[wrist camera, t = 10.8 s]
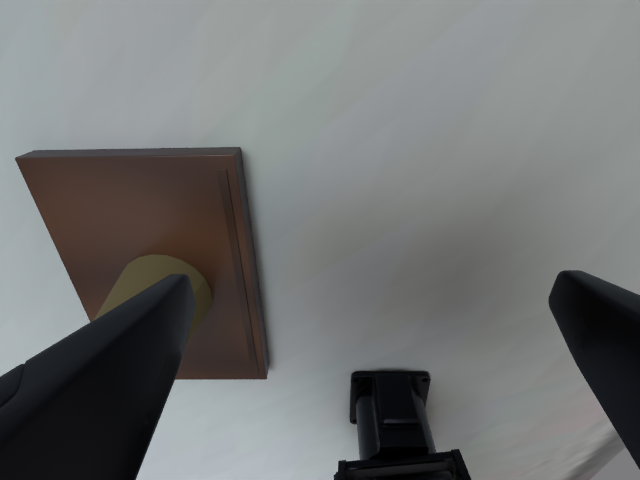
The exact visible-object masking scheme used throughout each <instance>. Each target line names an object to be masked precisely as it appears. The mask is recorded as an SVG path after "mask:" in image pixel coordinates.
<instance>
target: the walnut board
mask: <svg viewBox="0 0 640 480" xmlns="http://www.w3.org/2000/svg"><path fill="white" fill-rule="evenodd" d="M15 160H16V162H17V164H18V166H19V169H20V171H21V173H22V175H23V177H24V179H25V182H26V184H27V186H28V188H29V190H30V192H31V195H32V197H33V199H34V201H35V203H36V205H37V207H38V210H39V212H40V214H41V216H42V218H43V220H44V223H45V225H46V227H47V229H48V231H49V233H50V236H51V238H52V240H53V242H54V244H55V246H56V249H57V251H58V253H59V255H60V257H61V259H62V262H63V264H64V266H65V268H66V270H67V272H68V275H69V277H70V279H71V281H72V283H73V285H74V288H75V290H76V292H77V294H78V296H79V298H80V300H81V303H82V305H83V307H84V309H85V311H86V313H87V316H88V318H89V320H90V322H92V321H94V319H95V317H96V316H97V314H98V312H99V310H100V309H101V307H102V305H103V304H104V302H105V300H106V299H107V297H108V295H109V294H110V292H111V290H112V288H113V287H114V285H115V283H116V282H117V280H118V278H119V277H120V275H121V273H122V272H123V270H124V269H125V267H126V266H127V264H128V263H130V262H132V261H133V260H135V259H136V258H138V257H142V256H147V255H151V254H154V255H168V256H171V257H174V258H177V259H180V260H183V261H184V262H186V263H188V264H189V265H191V266H193V267H194V268H196V269H197V270H198V272H199V273H200V274H201V275H202V276H203V277H204V278H205V279H206V281H207V283H208V285H209V287H210V289H211V295H212V303H211V306H210V309H209V311H208V313H207V314H206V316H205V317H204V319H203V320H202V322H201V324H200V325H199V327H198V328H197V330H196V331H195V333H194V334H193V336H192V337H191V339H190V340H189V342H188V343H187V345H186V346H185V350H184V354H183V357H182V361H181V364H180V367H179V370H178V372H177V375H176V378H175V379H267V374H268V369H269V359H268V351H267V344H266V337H265V329H264V322H263V314H262V307H261V299H260V292H259V284H258V277H257V269H256V262H255V254H254V247H253V239H252V232H251V224H250V217H249V209H248V202H247V194H246V187H245V179H244V172H243V165H242V157H241V150H240V147H220V148H159V149H98V150H37V151H32V152H29V153H27V154H24V155H21V156H19V157H16V158H15Z"/></svg>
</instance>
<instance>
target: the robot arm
mask: <svg viewBox="0 0 640 480" xmlns="http://www.w3.org/2000/svg"><path fill="white" fill-rule="evenodd" d="M195 307H196V302H195V297H194V293H193V289H192V285H191V281H190V278H189V276H188V275H186V274H170V275H168V276H167V277H165V278H163V279H162V280H160V281H158V282H157V283H155V284H153V285H152V286H150V287H148V288H147V289H145V290H143V291H142V292H140V293H138V294H137V295H135V296H133V297H132V298H130V299H128V300H127V301H125V302H123V303H122V304H120V305H118V306H117V307H115V308H113V309H112V310H110V311H109V312H107V313H105V314H104V315H102V316H100V317H99V318H97V319H95V320H94V321H92V322H90V323H89V324H87V325H85V326H84V327H82V328H80V329H79V330H77V331H75V332H74V333H72V334H70V335H69V336H67V337H65V338H64V339H62V340H60V341H59V342H57V343H55V344H54V345H52V346H50V347H49V348H47V349H46V350H44V351H42V352H41V353H39V354H37V355H36V356H34V357H32V358H31V359H29V360H27V361H26V362H25V364H20V365H19V366H17V367H16V368H14V369H12V370H11V371H9V372H7V373H6V374H4V375H2V376H1V377H0V480H136V477H137V475H138V472H139V470H140V467H141V465H142V462H143V459H144V457H145V454H146V452H147V449H148V447H149V444H150V442H151V439H152V436H153V434H154V431H155V429H156V426H157V424H158V421H159V419H160V416H161V413H162V411H163V408H164V406H165V403H166V401H167V398H168V396H169V393H170V390H171V388H172V385H173V383H174V380H175V378H176V375H177V372H178V370H179V367H180V364H181V361H182V357H183V354H184V350H185V346H186V342H187V339H188V335H189V331H190V327H191V323H192V320H193V316H194V312H195ZM549 307H550V309H551V311H552V314H553V316H554V318H555V320H556V322H557V324H558V326H559V329H560V331H561V333H562V335H563V337H564V339H565V341H566V343H567V346H568V348H569V350H570V352H571V354H572V356H573V358H574V360H575V362H576V364H577V366H578V367H579V369H580V371H581V373H582V374H583V376H584V378H585V379H586V381H587V383H588V384H589V386H590V388H591V389H592V391H593V393H594V394H595V396H596V398H597V399H598V401H599V403H600V404H601V406H602V408H603V409H604V411H605V413H606V414H607V416H608V418H609V419H610V421H611V423H612V424H613V426H614V428H615V429H616V431H617V433H618V434H619V436H620V438H621V439H622V441H623V443H624V444H625V446H626V448H627V449H628V451H629V452H630V454H631V456H632V458H633V459H634V461H635V462H636V464H637V466H638V467H639V469H640V295H638V294H635V293H633V292H630V291H628V290H626V289H623V288H621V287H619V286H616V285H614V284H611V283H609V282H607V281H604V280H602V279H600V278H597V277H595V276H592V275H590V274H588V273H585V272H583V271H579V270H568V271H561V272H560V273H559V274H558V275H557V278H556V280H555V283H554V285H553V288H552V291H551V293H550V296H549ZM429 385H430V376H429V374H428V373H427V372H355V373H353V374H352V375H351V390H350V423H352V424H357V430H358V442H359V455H360V460H357V461H347V462H346V460H342V461H339V462H338V472H336V474H335V475H334V480H471V478H470V475H469V473H468V470H467V468H466V465H465V463H464V460H463V458H462V455H461V453H460V450H459V449H454V450H451V451H449V452H439V453H436V449H435V445H434V441H433V438H432V434H431V430H430V426H429V423H428V419H427V415H426V412H425V405H426V400H427V395H428V390H429Z"/></svg>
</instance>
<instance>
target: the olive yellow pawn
mask: <svg viewBox="0 0 640 480" xmlns="http://www.w3.org/2000/svg"><path fill="white" fill-rule="evenodd" d="M170 274H186V275H188V276H189V278H190V281H191V285H192V289H193V293H194V297H195V302H196V307H195V312H194V316H193V320H192V323H191V327H190V331H189V335H188V339H187V342H186V345H187V343H188V342H189V340H190V339H191V337H192V336H193V334H194V333H195V331H196V330H197V328H198V327H199V325H200V324H201V322H202V320H203V319H204V317H205V316H206V314H207V313H208V311H209V309H210V306H211V303H212V295H211V289H210V287H209V285H208V283H207V281H206V279H205V278H204V277H203V276H202V275H201V274H200V273H199V272H198V270H197V269H196V268H194V267H193V266H191V265H189V264H188V263H186V262H184V261H183V260H180V259H177V258H174V257H171V256H168V255H154V254H151V255H147V256H142V257H138V258H136V259H135V260H133V261H132V262H130V263H128V264H127V266H126V267H125V269H124V270H123V272H122V273H121V275H120V277H119V278H118V280H117V282H116V283H115V285H114V287H113V288H112V290H111V292H110V294H109V295H108V297H107V299H106V300H105V302H104V304H103V305H102V307H101V309H100V310H99V312H98V314H97V316H96V317H95V319H97V318H99V317H100V316H102V315H104V314H105V313H107V312H109V311H110V310H112V309H113V308H115V307H117V306H118V305H120V304H122V303H123V302H125V301H127V300H128V299H130V298H132V297H133V296H135V295H137V294H138V293H140V292H142V291H143V290H145V289H147V288H148V287H150V286H152V285H153V284H155V283H157V282H158V281H160V280H162V279H163V278H165V277H167V276H168V275H170ZM95 319H94V320H95Z"/></svg>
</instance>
